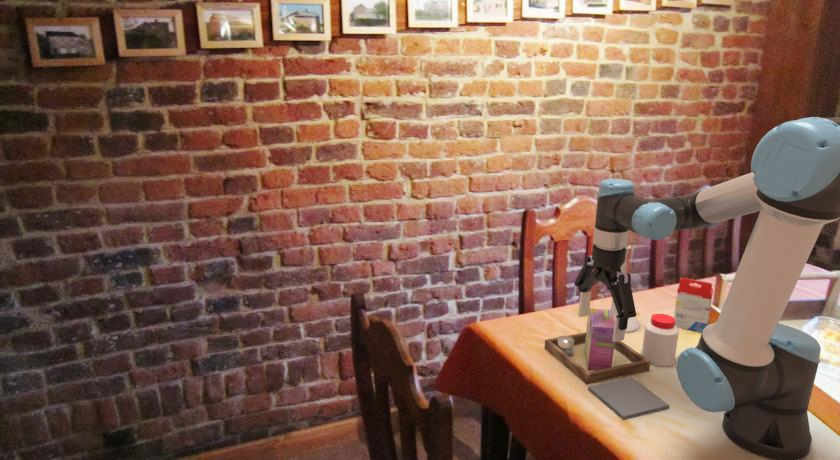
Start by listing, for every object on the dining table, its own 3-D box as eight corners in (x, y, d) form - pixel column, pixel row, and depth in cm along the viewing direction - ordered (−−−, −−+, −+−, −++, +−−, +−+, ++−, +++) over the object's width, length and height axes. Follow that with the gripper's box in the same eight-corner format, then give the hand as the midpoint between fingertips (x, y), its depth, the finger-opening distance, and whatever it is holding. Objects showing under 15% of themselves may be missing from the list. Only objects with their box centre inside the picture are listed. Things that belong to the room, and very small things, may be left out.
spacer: (576, 355, 145) (577, 341, 144) (562, 358, 144) (563, 344, 143) (567, 348, 149) (568, 334, 147) (553, 351, 147) (554, 337, 146)
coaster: (669, 408, 123) (669, 405, 123) (623, 419, 120) (623, 416, 119) (631, 379, 134) (631, 376, 134) (588, 389, 130) (588, 386, 130)
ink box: (707, 327, 161) (715, 278, 156) (705, 334, 157) (713, 283, 152) (675, 319, 165) (682, 271, 161) (672, 326, 161) (679, 277, 157)
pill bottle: (679, 357, 144) (685, 317, 141) (667, 369, 139) (673, 328, 135) (648, 347, 149) (653, 308, 146) (636, 358, 144) (641, 318, 141)
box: (612, 373, 137) (617, 328, 134) (587, 370, 138) (591, 325, 135) (607, 352, 147) (612, 309, 143) (584, 349, 148) (588, 307, 145)
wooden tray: (649, 370, 138) (650, 361, 138) (586, 384, 132) (587, 374, 132) (602, 337, 155) (603, 329, 154) (544, 348, 149) (545, 339, 148)
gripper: (661, 261, 124) (648, 349, 130) (590, 228, 146) (582, 304, 153) (632, 265, 121) (620, 354, 128) (565, 231, 144) (558, 308, 150)
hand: (599, 327), depth 140 cm, fingers open, 13 cm apart
